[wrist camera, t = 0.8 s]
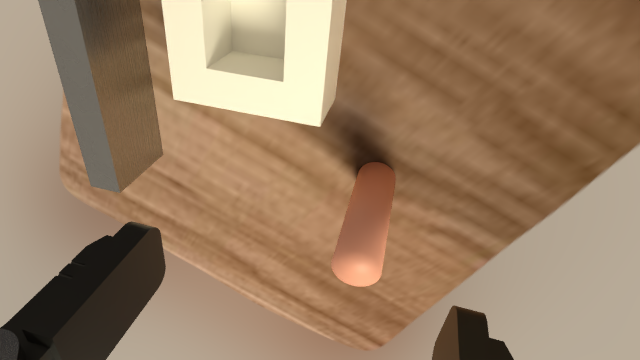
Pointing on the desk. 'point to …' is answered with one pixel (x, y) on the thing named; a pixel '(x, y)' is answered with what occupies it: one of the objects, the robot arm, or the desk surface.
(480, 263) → the desk surface
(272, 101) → the socket block
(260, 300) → the desk surface
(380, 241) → the dowel
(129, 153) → the backstop
